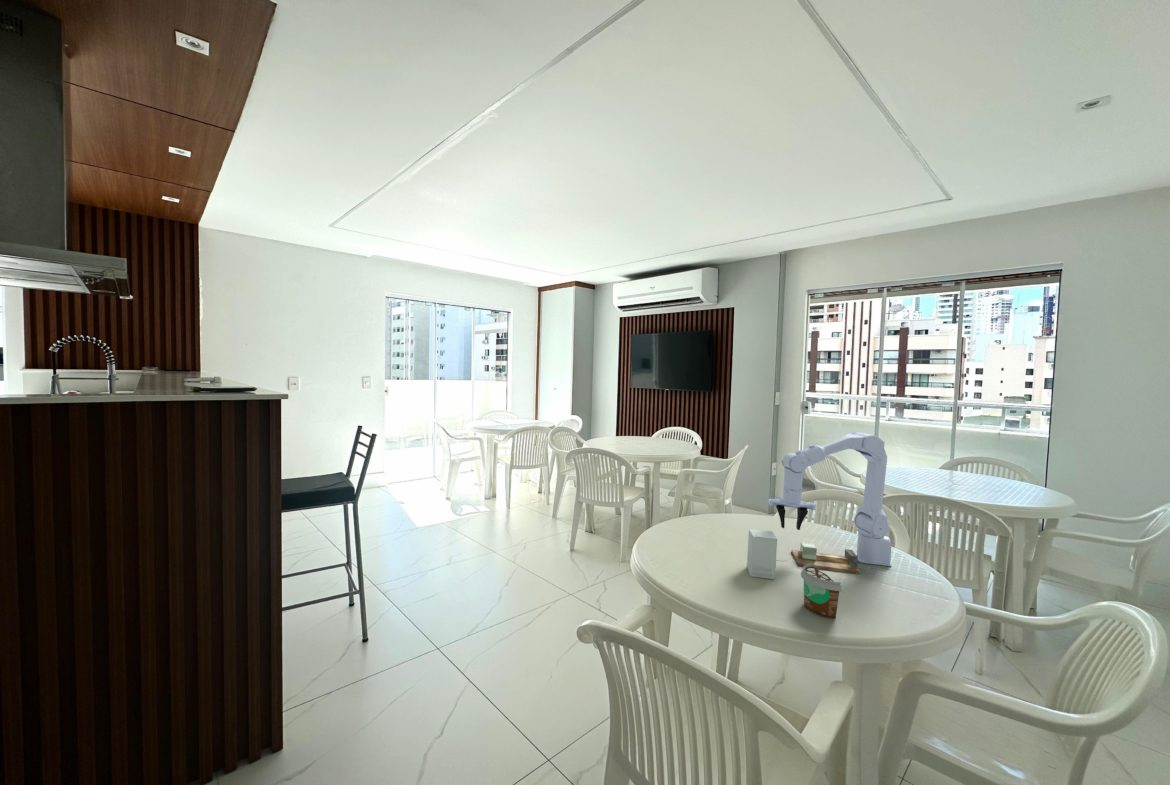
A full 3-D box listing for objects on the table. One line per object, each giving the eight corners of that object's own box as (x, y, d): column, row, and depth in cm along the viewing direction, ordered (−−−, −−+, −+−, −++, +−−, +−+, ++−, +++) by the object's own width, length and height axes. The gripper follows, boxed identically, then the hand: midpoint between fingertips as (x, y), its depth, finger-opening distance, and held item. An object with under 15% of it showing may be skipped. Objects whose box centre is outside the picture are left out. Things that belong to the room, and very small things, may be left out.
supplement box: (775, 579, 136) (777, 539, 136) (750, 576, 138) (752, 536, 137) (770, 569, 144) (772, 530, 143) (746, 566, 145) (748, 528, 144)
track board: (847, 559, 154) (848, 546, 154) (859, 574, 143) (860, 560, 142) (791, 552, 159) (792, 539, 158) (798, 566, 147) (799, 552, 147)
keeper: (812, 554, 154) (813, 543, 153) (816, 559, 149) (816, 548, 149) (800, 553, 154) (800, 542, 154) (803, 558, 150) (803, 546, 150)
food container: (790, 597, 125) (792, 562, 125) (810, 597, 126) (813, 562, 125) (816, 622, 113) (818, 583, 113) (839, 621, 114) (841, 583, 113)
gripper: (771, 489, 150) (769, 529, 151) (819, 494, 147) (816, 534, 147) (768, 484, 157) (766, 522, 158) (813, 488, 154) (811, 527, 154)
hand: (790, 528), depth 153 cm, fingers open, 4 cm apart
